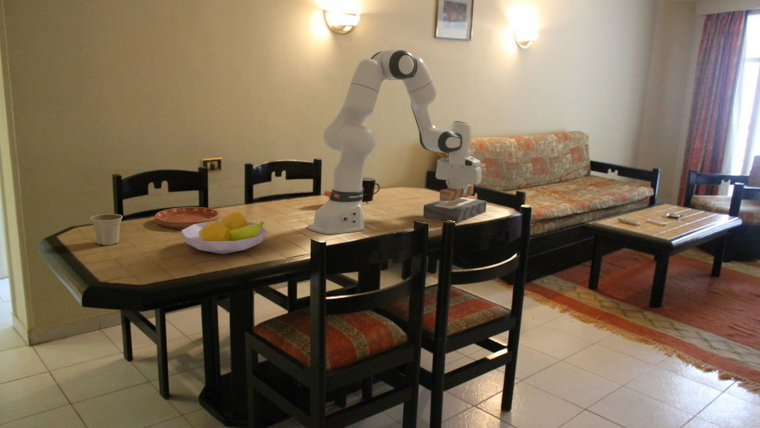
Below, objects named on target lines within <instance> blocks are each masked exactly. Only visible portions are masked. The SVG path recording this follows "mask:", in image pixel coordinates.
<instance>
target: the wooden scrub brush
mask: <svg viewBox="0 0 760 428" xmlns="http://www.w3.org/2000/svg"><path fill="white" fill-rule="evenodd" d="M474 185H475V184H470V183H469V186H468V188H467V189H466V193H461V191H462V189H463V188H464V187H463V188H461V189H451V188H448V187H447V188H444V189H440V190H439V200H444V201H453V200H456V199H459V198H462V197H465V198H466V197H467V196H470V195H473V194H474V188H475V187H474Z"/></svg>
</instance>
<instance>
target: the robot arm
mask: <svg viewBox="0 0 760 428" xmlns="http://www.w3.org/2000/svg"><path fill="white" fill-rule="evenodd" d="M385 80H387V81H399V80H401V81H402V82H403V84H404V86H405V88H406V91H407V93H408V96H409V100H410V107H411V109H412V113H413V116H414V119H415V120H414V121H415V123H416V126H417V130H418V133H419V135H418V136H419V143H420V145H421V147H422V148H423V150H425V151H427V152H429V151H430V152H436V153H443V154H449V155H448V158H445V157H440V158H439V159H437V161H436V162H437V163H436V169H435V171H436V172H435V178H436V179H437V180H443V181H444V180H445V184H446V186H447V188H449V181H450V179H451V178H453V179H460V182H463V183H464V185H465V187H464V188H463V189H462V191H461V193H466V189H467V188H468V186H469V184H471V185H479V184H480V183H481V182H482V168H481V162H482V161H481V160H480V159H477V158H475V157H474V156H472V155H471V145H472V126H471V125H470V123H468V122H465V121H459V120H454V121H452V123H451V124H450V125H448V126H446V127H444V128H438V127H436V126H435V125H434V124H433V121H432V117H431V115H430V112H429V105H431V104H432V103H433V102H434V101H435V99H436V97H437V93H438V92H437V86H436V83H435V81H434V79H433V76H432V74H431V72H430V70H429V68H428V66H427V65H426V63H425V61H424V60H423V59H422V57H419V56H413V54H412V53H410V52H409V51H407V50H404V49H403V50H401V49H399V50H398V49H397V50H394V49H388V50H383V51H379V52H376V53H374V54H373V55H372V56H371V57H370V58H364V59H362V60H361V61H359V63H358V65H357V67H356V68H355V71H354V72H353V76H352V78H351V80H350V84H349V87H348V89H347V90H348V91H347V94H346V96H345V100H344V102H343V103H342V104H343V105H342V107H341V108H340V110H339V113H338V114H337V116H336V117H335V118H334V120H333V121H332V122H331V123H330V124H329V125H327V126H326V128H324V131H323V141H324V143H325V144H326V146H328V147H329V148H330V149H332V150H333V151H337V152H340V156H339V157H340V158H339V161H338V163H337V165H336V166H334V168H333V177H332V178H333V179H332V180H333V181H332V183H333V184H332V189H331V191H329V190H325V191H323V195H324V197H327V198H328V200H327V201H326V202H325V203H323V204H322V205H321V206H320V207H319V208H318V209H317V210H316V211H315V214H314V218H313V222H311V223H308V224H307V228H308V229H309V230H310V231H314V232H317V233H319V234H324V235H333V234H334V235H335V234H344V233H353V232H360V231H365V227H366V223H365V220H364V213H363V201H362V199H363V190H362V179H363V177H364V176H363V175H364V168H365V165H366V162H367V158H368V156H369V155H370V154H371V153H372V152H373V151H374V149H375V147H376V144H377V137H376V135H375V133H374V132H373V131H372V130H371V129H369V128H368V127H366V126H363V123H364V121H365V120H366V119H367V118H368V117H370V116H371V115H372V114H373V113H374V109H375V106H376V102H377V99H378V95H379V94H380V93H379V92H380V88H381V85H382V84H383V82H384V81H385Z"/></svg>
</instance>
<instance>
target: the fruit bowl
mask: <svg viewBox="0 0 760 428" xmlns="http://www.w3.org/2000/svg"><path fill="white" fill-rule="evenodd" d="M264 224H265V222H264V221H263V220H261V221H260V222H259V223H257V222H250V221H249V220H248V217H247V216H246V215H245V214H243V213H242V212H240V211H238V210H236V211H234V212H232V213H230V214H227V216H224V217H223V218H222V219H221V220H217V221H210V222H206V223H199V224H194V225H192V226H190V227H188V228H186V229H180V230H181V232H182V235H183V238H184V241H185V243H186V245H190V246H191V247H193V248H195V249H197V250H199V251H203V252H210V253H214V254H220V255H225V254H230V253H231V254H232V253H236V252H240V251H241V252H242V251H247V250H248V249H250V248H252V247H255V246H257V245H259V244H261V243H262V242H263V240H264V238H265V236H266V234H267V233H268V230H267V228H266V227H264V226H263V225H264Z"/></svg>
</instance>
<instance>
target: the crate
mask: <svg viewBox="0 0 760 428" xmlns="http://www.w3.org/2000/svg"><path fill="white" fill-rule="evenodd" d="M449 188H451V189H461V188H462V182H460V179H453V178H451V179H450V181H449Z"/></svg>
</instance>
